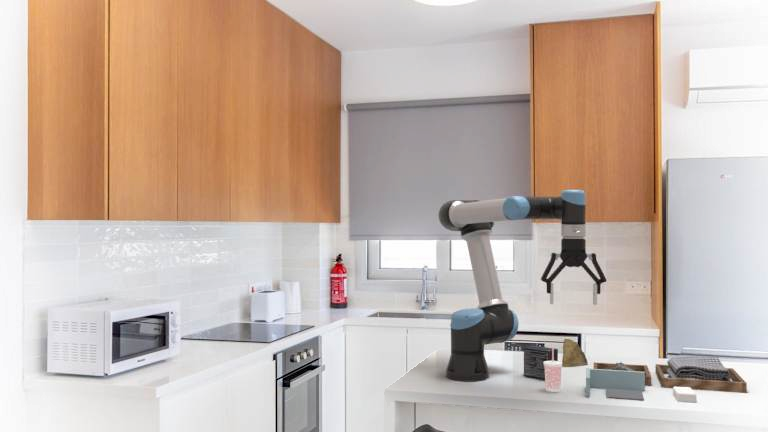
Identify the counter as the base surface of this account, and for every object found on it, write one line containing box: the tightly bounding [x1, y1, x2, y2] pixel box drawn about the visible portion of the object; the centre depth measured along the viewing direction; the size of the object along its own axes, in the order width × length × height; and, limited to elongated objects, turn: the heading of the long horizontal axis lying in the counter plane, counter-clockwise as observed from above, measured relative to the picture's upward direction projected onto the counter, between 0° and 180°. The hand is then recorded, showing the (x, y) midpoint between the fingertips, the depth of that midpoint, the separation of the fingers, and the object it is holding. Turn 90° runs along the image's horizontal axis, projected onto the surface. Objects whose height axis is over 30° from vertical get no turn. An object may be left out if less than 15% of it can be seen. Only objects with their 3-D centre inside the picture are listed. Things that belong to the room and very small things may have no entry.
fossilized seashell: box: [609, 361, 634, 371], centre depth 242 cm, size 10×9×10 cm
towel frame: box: [655, 363, 748, 394], centre depth 236 cm, size 25×22×3 cm
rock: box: [561, 338, 589, 368], centre depth 263 cm, size 11×9×10 cm
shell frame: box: [593, 361, 652, 387], centre depth 242 cm, size 18×18×3 cm
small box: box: [523, 345, 559, 381], centre depth 243 cm, size 11×6×10 cm, turn 47°
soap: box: [672, 387, 697, 403], centre depth 215 cm, size 9×6×3 cm, turn 167°
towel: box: [666, 356, 733, 382], centre depth 236 cm, size 15×18×8 cm
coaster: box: [605, 388, 645, 401], centre depth 219 cm, size 11×11×1 cm
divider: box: [585, 368, 646, 398], centre depth 221 cm, size 18×14×6 cm
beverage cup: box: [543, 346, 563, 393], centre depth 225 cm, size 6×6×14 cm
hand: (573, 304), depth 222 cm, fingers open, 13 cm apart
